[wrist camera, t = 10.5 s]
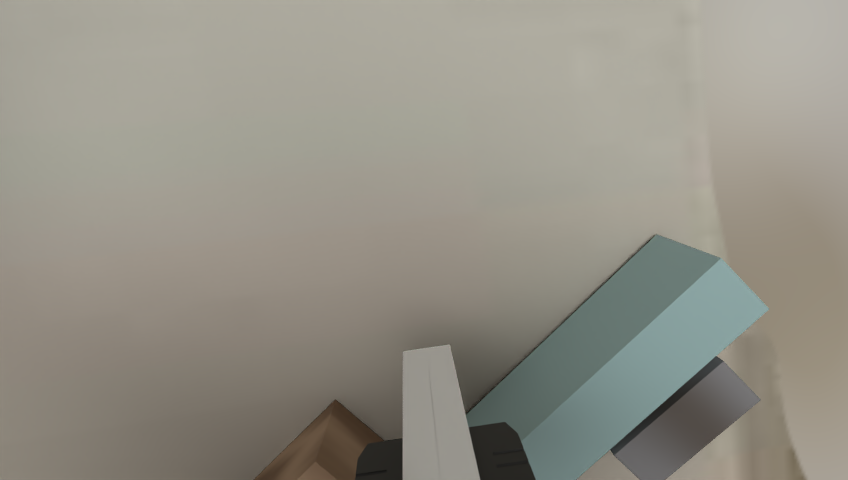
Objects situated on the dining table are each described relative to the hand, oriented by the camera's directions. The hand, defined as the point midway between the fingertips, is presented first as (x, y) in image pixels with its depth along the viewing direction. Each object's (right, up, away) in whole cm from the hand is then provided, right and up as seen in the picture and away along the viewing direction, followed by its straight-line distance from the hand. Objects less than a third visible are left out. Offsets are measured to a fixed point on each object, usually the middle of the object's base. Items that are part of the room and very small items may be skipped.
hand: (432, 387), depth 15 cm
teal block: (+7, -1, +9) cm, 12 cm away
